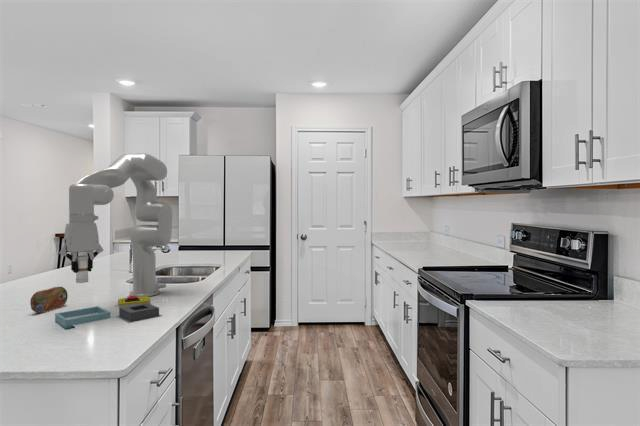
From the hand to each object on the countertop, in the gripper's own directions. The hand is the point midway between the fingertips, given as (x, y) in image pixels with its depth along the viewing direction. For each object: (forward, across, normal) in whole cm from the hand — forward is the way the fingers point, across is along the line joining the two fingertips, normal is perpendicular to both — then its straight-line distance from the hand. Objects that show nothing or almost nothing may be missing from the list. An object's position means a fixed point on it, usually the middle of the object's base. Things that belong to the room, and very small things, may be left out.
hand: (82, 271), depth 143 cm
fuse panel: (+18, -15, +11) cm, 26 cm away
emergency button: (+18, -22, -8) cm, 29 cm away
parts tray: (+18, 0, 0) cm, 18 cm away
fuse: (+4, 0, 0) cm, 4 cm away
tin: (+18, +4, -26) cm, 32 cm away
